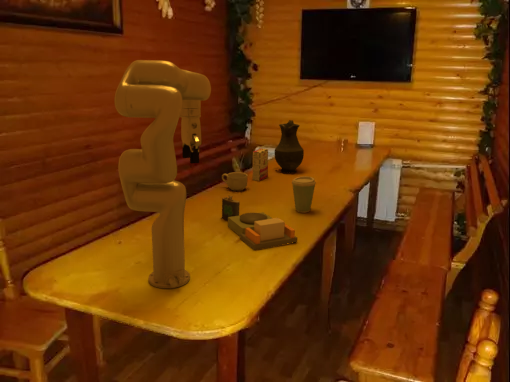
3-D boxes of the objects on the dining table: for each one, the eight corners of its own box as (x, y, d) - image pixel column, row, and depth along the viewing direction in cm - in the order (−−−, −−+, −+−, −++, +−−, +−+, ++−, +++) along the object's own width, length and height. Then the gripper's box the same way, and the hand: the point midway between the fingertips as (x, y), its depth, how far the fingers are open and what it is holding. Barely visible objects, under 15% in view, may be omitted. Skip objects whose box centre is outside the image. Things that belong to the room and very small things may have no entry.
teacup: (251, 188, 247) (251, 174, 244) (239, 193, 238) (239, 178, 235) (229, 184, 254) (229, 170, 251) (217, 189, 245) (217, 174, 243)
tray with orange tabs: (297, 242, 177) (297, 229, 175) (254, 250, 169) (254, 236, 168) (265, 220, 199) (265, 209, 198) (225, 226, 191) (225, 214, 190)
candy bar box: (260, 176, 273) (260, 148, 268) (268, 177, 271) (268, 148, 266) (251, 180, 263) (252, 151, 259) (259, 181, 261) (260, 152, 257)
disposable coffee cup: (304, 216, 207) (306, 182, 202) (285, 210, 214) (286, 178, 209) (318, 210, 214) (320, 178, 210) (299, 205, 221) (301, 174, 217)
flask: (240, 221, 198) (240, 197, 195) (235, 223, 196) (236, 198, 193) (224, 216, 203) (224, 192, 201) (219, 218, 201) (219, 194, 198)
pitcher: (272, 174, 278) (273, 123, 269) (276, 166, 298) (278, 118, 289) (301, 176, 275) (304, 124, 267) (304, 167, 295) (306, 119, 287)
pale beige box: (284, 236, 177) (285, 221, 175) (260, 241, 172) (260, 225, 171) (278, 232, 181) (278, 217, 179) (254, 236, 176) (254, 221, 175)
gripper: (207, 115, 160) (208, 164, 165) (193, 110, 176) (193, 155, 180) (186, 115, 157) (187, 166, 162) (173, 110, 173) (174, 156, 177)
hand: (190, 160), depth 171 cm, fingers open, 9 cm apart
